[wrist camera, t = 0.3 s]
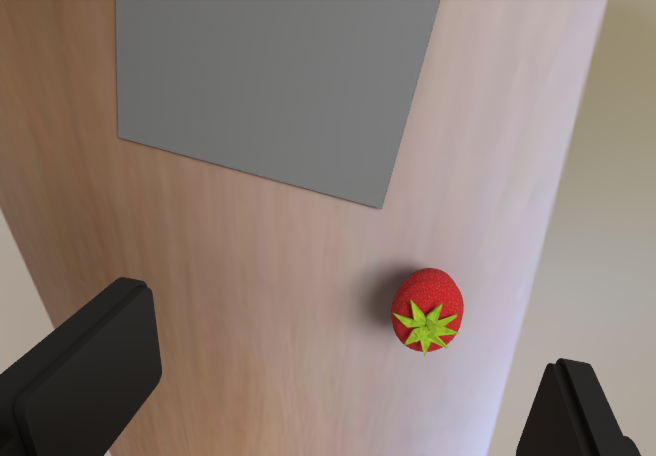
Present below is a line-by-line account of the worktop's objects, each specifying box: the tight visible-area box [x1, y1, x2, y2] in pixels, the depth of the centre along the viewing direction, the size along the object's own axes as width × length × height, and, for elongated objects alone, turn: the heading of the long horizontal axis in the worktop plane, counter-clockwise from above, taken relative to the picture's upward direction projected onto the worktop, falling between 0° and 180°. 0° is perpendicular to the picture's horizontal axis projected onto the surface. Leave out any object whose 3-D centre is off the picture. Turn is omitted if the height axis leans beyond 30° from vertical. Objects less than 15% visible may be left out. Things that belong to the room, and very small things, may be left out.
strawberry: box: [391, 268, 464, 356], centre depth 39 cm, size 6×8×10 cm
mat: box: [116, 0, 440, 209], centre depth 37 cm, size 20×26×1 cm
